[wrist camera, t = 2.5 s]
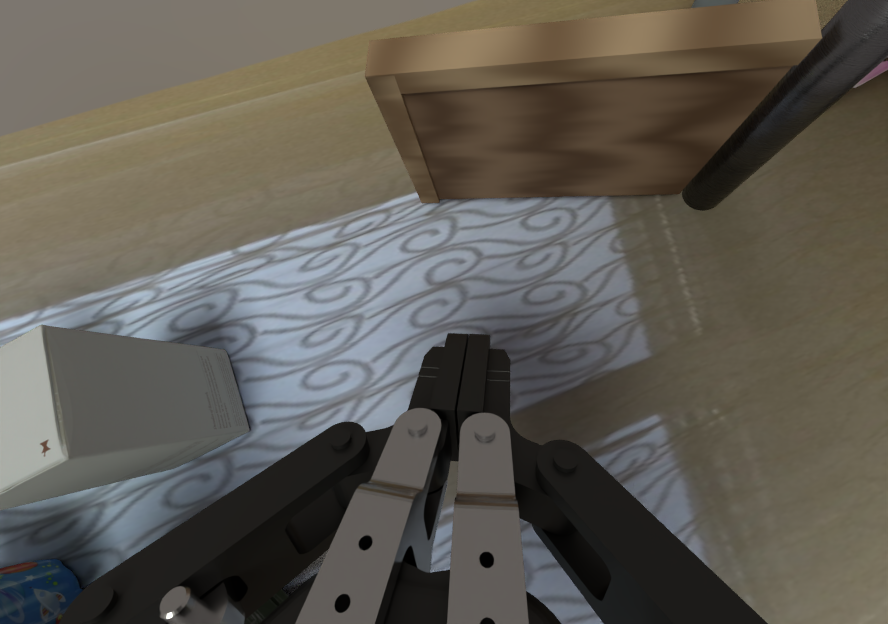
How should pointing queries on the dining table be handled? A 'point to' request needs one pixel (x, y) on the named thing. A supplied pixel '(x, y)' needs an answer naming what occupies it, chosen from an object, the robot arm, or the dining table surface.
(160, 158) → the dining table surface
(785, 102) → the gatepost
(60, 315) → the dining table surface
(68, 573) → the snack cup
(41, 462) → the supplement box
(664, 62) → the gate
